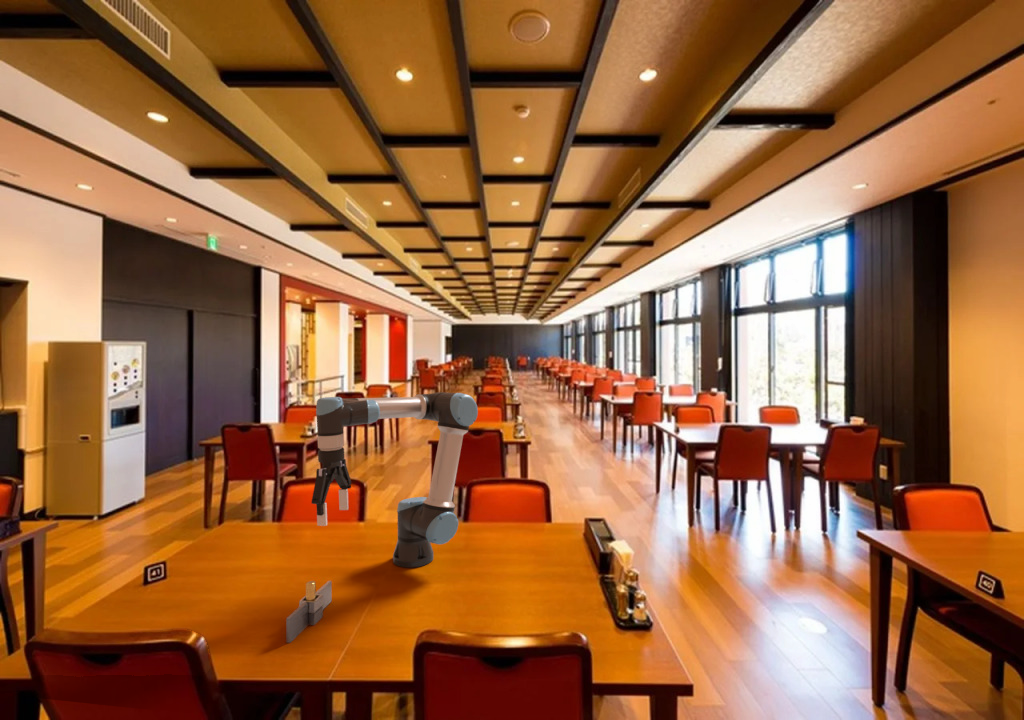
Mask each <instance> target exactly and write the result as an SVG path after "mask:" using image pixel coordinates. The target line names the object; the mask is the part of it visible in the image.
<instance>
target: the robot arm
mask: <svg viewBox="0 0 1024 720" xmlns="http://www.w3.org/2000/svg"><path fill="white" fill-rule="evenodd" d="M315 406H316V409H315V411H316V412H315V414H316V429H317V437H316V440H317V449H318V451H317V458H318V459H317V461H318V463H320V464H322V468H317V469H316V470H315V471H316V475H315V476H316V477H315V483H314V487H313V491H312V492H313V493H312V497H311V504H312V505H316V526H319V527H320V526H321V527H326V526H328V508H327V506H328V505H327V502H326V500H327V496H328V492H329V490H330V487H331V484H332V483H333V481H334V480H335V481H336V483H337V485H338V486H339V489H338V505H339V506H338V507H339V511H348V510H349V490H348V489H351V488H352V481H351V477H350V473H349V469H348V467H347V462H346V461H347V459H346V458H345V448H344V446H345V436H344V433H345V432H344V428H345V427H352V426H358V425H369V424H372V423H375V422H377V421H378V420H380V419H381V420H382V419H403V418H414V419H416V420H427V421H434V422H437V428H438V430H439V431H440V434H439V438H438V444H437V450H436V454H435V460H434V465H433V470H432V476H431V482H430V485H429V486H430V487H429V492H428V497H426V496H417V497H409V498H405V499H402V500H400V501H399V502H398V504H397V511H396V513H397V541H396V545H395V548H394V551H393V554H392V562H393V564H394V565H396V566H398V567H401V568H409V569H410V568H419V567H423V566H425V565H428V564H430V563H431V562H432V561H433V560H434V549H433V547H432V544H435V545H444V544H447V543H448V542H449V541H451V539H453V538H454V536H455V535H456V533H457V531H458V527H459V519H458V518H457V515H456V514H455V513H454V512H455V507H456V505H455V503H454V502H453V494H454V490H455V484H456V480H457V473H458V467H459V461H460V457H461V451H462V450H461V449H462V445H463V439H464V435H466V434H467V433H468V432H469V428H470V426H471V425H473V424H474V423H475V422H476V421H477V418H478V416H479V415H478V414H479V413H478V412H479V410H478V408H479V407H478V405H477V403H476V401H475V399H474V398H473V397H472V396H471V395H469V394H466V393H462V392H445V391H443V392H442V391H440V392H433V393H432V392H431V393H423V394H422V393H421V394H416V395H414V396H411V397H410V396H407V397H401V396H400V397H360V398H359V397H356V398H354V397H353V398H342V397H341V396H328V397H327V396H325V397H320V398H319V399H317V401H316V405H315Z"/></svg>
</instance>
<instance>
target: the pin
mask: <svg viewBox="0 0 1024 720" xmlns="http://www.w3.org/2000/svg"><path fill="white" fill-rule="evenodd" d="M316 583H317V582H316V581H315V580H309V581H307V582H306V583H305V596H306V601H314V600H316V592H317V591H316V587H317V586H316Z"/></svg>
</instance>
